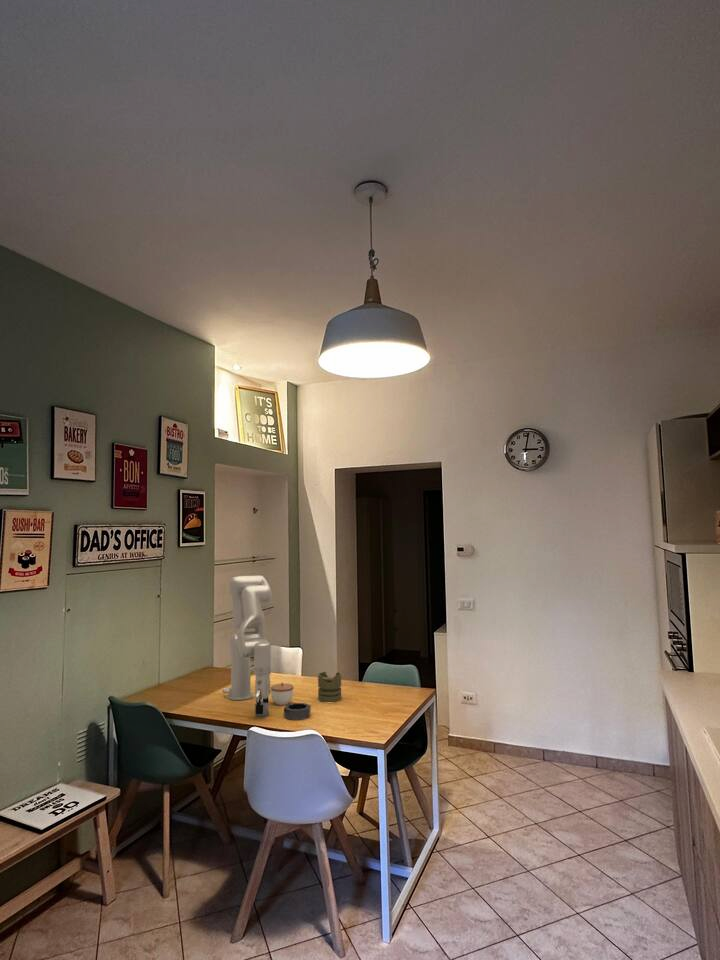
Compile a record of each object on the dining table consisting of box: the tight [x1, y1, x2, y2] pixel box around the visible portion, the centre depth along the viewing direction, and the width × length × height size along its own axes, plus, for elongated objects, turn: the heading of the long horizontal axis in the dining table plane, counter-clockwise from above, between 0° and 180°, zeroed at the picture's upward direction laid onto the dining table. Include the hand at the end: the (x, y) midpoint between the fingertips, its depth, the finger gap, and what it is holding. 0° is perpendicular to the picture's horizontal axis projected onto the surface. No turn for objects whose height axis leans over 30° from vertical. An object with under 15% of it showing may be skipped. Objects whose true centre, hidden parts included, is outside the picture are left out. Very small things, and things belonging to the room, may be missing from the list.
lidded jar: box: [270, 682, 294, 706], centre depth 263 cm, size 11×11×9 cm
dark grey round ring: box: [283, 702, 312, 721], centre depth 243 cm, size 11×11×4 cm
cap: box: [254, 702, 270, 719], centre depth 244 cm, size 6×6×5 cm
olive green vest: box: [317, 671, 342, 703], centre depth 268 cm, size 11×12×11 cm
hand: (262, 710), depth 244 cm, fingers open, 9 cm apart
